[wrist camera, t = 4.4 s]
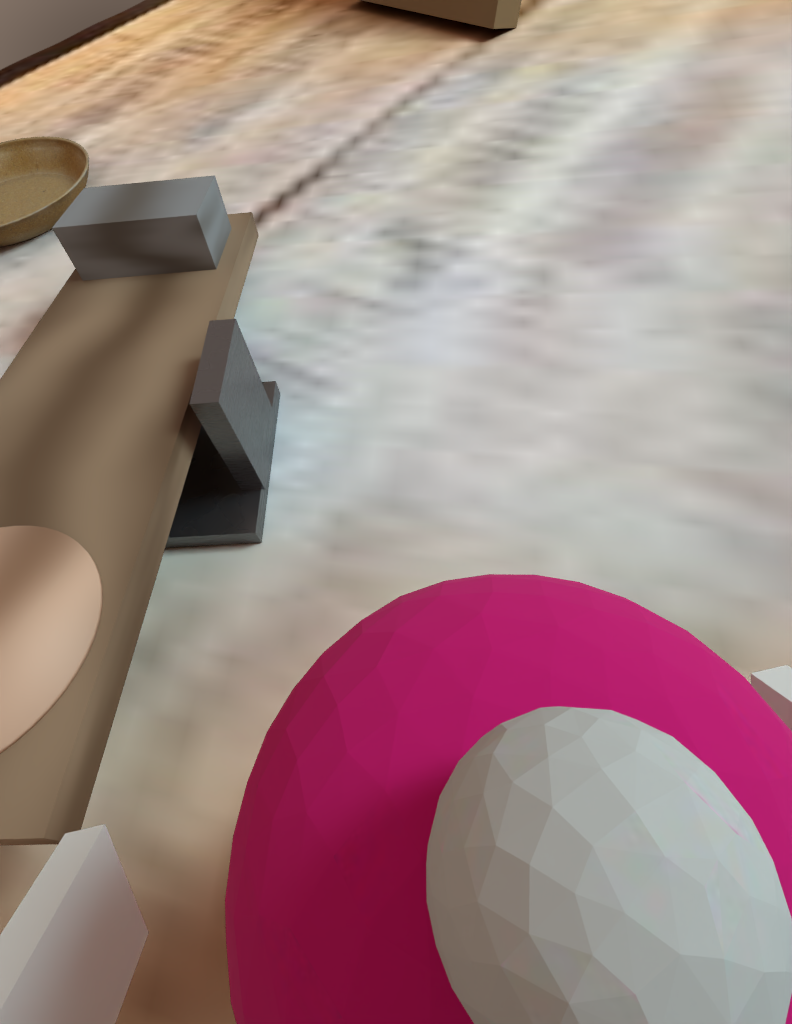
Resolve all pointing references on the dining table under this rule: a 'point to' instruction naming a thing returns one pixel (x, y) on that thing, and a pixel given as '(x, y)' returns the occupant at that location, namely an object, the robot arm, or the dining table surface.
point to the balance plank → (99, 474)
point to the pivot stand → (227, 446)
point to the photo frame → (464, 10)
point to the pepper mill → (515, 823)
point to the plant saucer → (38, 184)
